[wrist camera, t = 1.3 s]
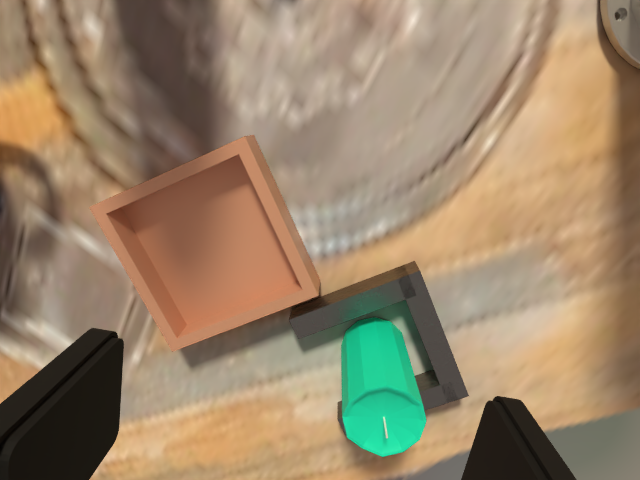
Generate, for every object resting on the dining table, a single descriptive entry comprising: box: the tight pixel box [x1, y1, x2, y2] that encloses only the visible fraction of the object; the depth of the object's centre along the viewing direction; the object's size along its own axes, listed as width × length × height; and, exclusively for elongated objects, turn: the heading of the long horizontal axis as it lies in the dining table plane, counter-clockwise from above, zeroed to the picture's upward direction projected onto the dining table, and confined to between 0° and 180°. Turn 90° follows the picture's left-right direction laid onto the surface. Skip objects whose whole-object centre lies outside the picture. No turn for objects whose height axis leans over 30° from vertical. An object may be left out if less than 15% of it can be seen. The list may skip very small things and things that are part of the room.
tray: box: [89, 135, 320, 352], centre depth 36 cm, size 14×14×4 cm
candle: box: [341, 317, 426, 457], centre depth 34 cm, size 6×6×12 cm
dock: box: [289, 261, 469, 436], centre depth 39 cm, size 12×13×2 cm
